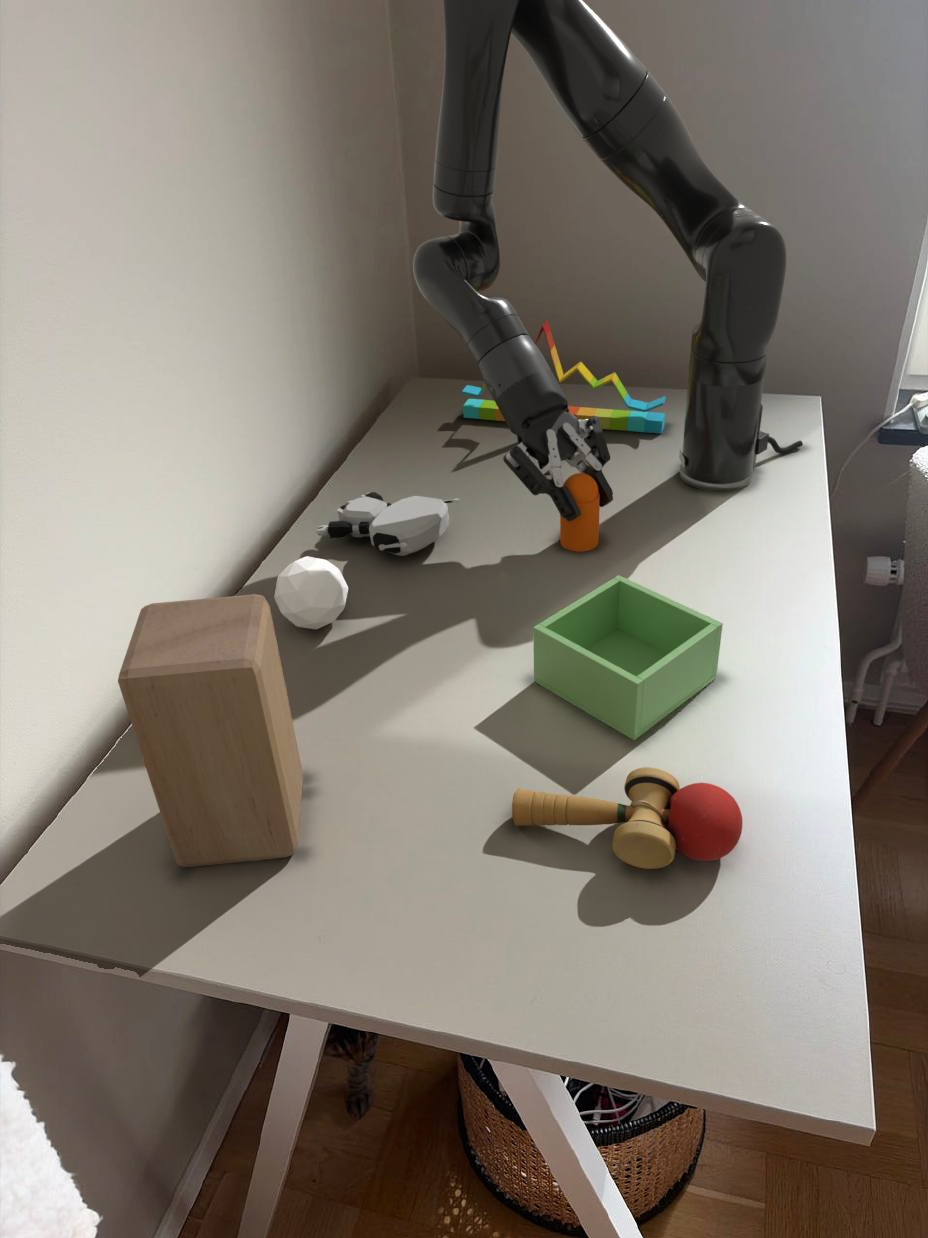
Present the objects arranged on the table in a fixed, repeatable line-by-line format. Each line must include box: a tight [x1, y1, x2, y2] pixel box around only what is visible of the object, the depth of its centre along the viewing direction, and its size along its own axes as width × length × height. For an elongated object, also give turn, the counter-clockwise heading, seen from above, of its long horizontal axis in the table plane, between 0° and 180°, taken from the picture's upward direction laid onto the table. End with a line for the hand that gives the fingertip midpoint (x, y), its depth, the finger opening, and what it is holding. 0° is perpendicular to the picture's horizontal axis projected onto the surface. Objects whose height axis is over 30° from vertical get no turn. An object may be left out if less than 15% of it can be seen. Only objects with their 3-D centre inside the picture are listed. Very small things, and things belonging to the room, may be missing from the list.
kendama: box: [511, 766, 743, 870], centre depth 78 cm, size 8×6×18 cm
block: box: [117, 593, 304, 868], centre depth 77 cm, size 10×10×20 cm
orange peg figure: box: [559, 472, 600, 553], centre depth 115 cm, size 5×5×9 cm
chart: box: [461, 319, 667, 434], centre depth 143 cm, size 30×3×15 cm, turn 72°
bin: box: [532, 574, 723, 741], centre depth 94 cm, size 13×13×7 cm
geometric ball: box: [273, 555, 349, 631], centre depth 105 cm, size 8×8×8 cm
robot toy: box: [315, 491, 461, 557], centre depth 120 cm, size 12×4×15 cm
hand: (591, 510), depth 114 cm, fingers closed on orange peg figure, 4 cm apart
